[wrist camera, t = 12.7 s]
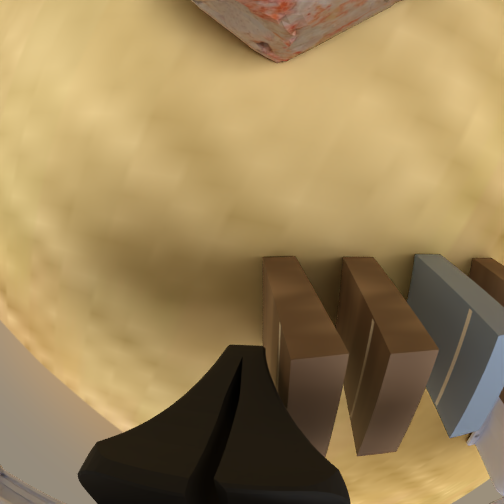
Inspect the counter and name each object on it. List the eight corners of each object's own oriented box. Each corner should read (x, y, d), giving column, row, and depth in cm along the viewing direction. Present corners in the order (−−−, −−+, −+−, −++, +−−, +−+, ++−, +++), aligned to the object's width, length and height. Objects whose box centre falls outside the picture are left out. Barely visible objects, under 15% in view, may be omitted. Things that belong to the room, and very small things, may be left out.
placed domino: (440, 254, 15) (528, 330, 7) (423, 334, 16) (479, 430, 9) (415, 254, 15) (498, 335, 7) (399, 335, 16) (449, 438, 9)
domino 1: (295, 256, 15) (349, 353, 8) (291, 341, 17) (325, 456, 9) (262, 257, 15) (290, 359, 8) (262, 342, 17) (281, 462, 9)
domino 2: (373, 257, 15) (439, 349, 8) (361, 340, 17) (396, 451, 9) (342, 256, 15) (390, 353, 8) (333, 340, 17) (356, 456, 9)
